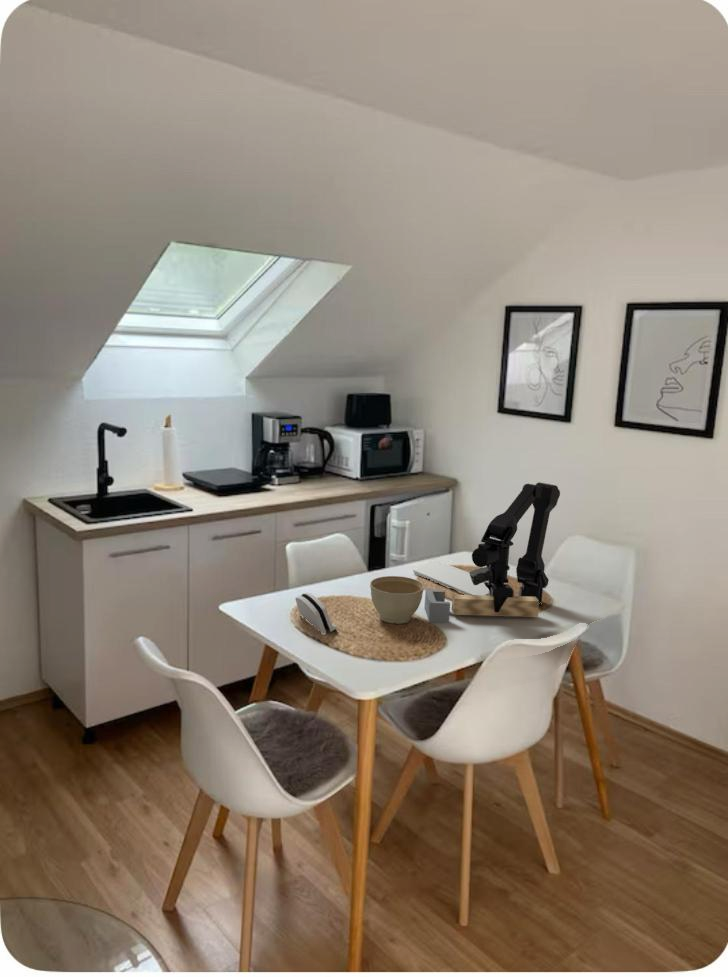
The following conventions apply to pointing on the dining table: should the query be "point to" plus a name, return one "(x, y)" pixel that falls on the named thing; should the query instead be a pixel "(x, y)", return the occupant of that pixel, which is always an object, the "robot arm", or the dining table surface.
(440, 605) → the end cap
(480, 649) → the dining table surface
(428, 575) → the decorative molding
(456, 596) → the oak slat
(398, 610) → the planter bowl
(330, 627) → the grey black arched block
